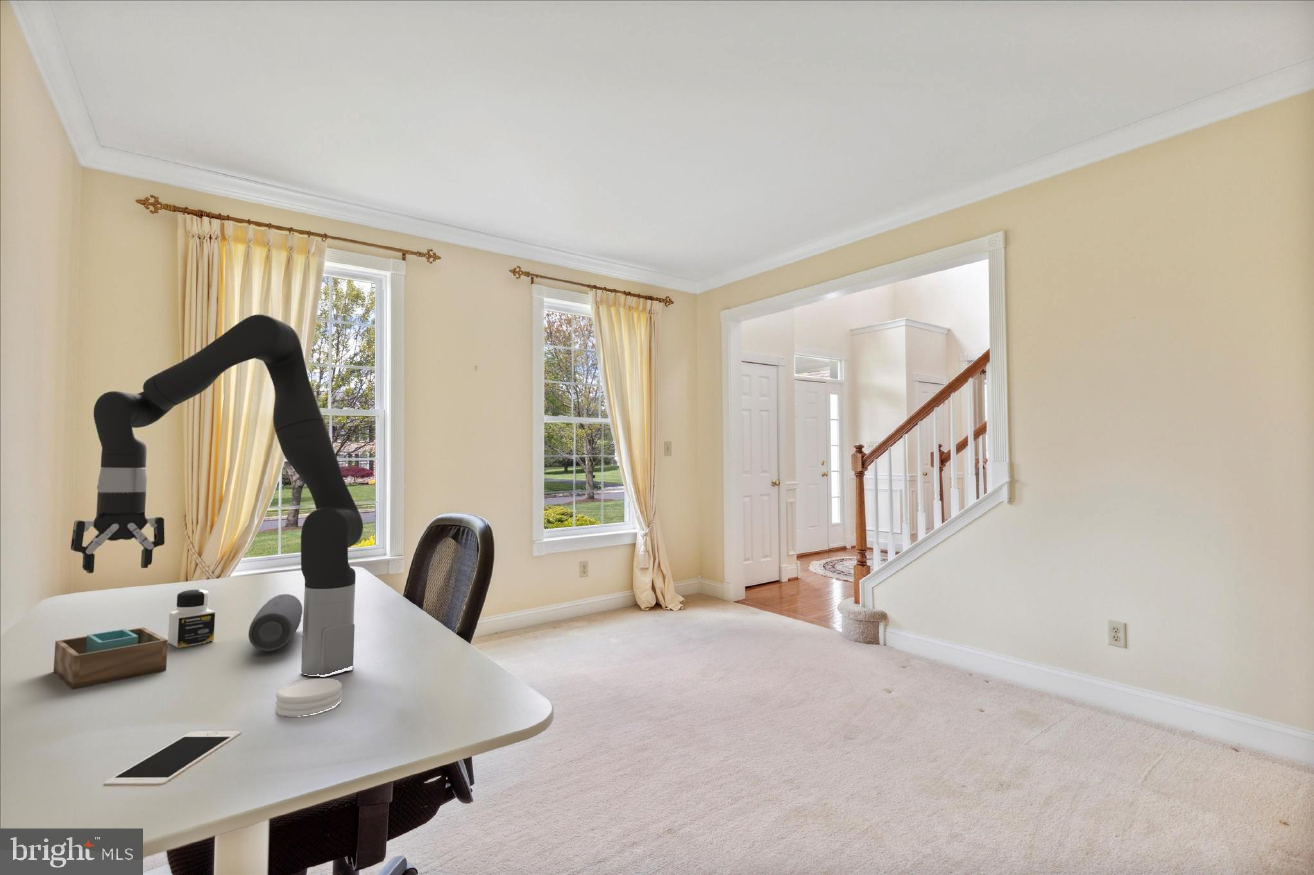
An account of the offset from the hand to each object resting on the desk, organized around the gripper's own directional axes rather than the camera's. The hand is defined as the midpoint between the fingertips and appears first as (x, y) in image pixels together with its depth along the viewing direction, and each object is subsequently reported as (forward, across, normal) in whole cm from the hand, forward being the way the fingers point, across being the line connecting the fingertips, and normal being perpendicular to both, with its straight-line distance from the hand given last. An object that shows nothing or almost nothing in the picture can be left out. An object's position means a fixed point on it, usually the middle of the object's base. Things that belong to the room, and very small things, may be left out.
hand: (118, 570), depth 125 cm
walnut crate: (+20, 0, 0) cm, 20 cm away
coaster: (+21, +16, -50) cm, 56 cm away
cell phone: (+21, -4, -55) cm, 59 cm away
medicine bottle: (+20, +17, +12) cm, 29 cm away
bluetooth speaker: (+20, +29, -4) cm, 35 cm away
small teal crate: (+19, 0, 0) cm, 19 cm away
